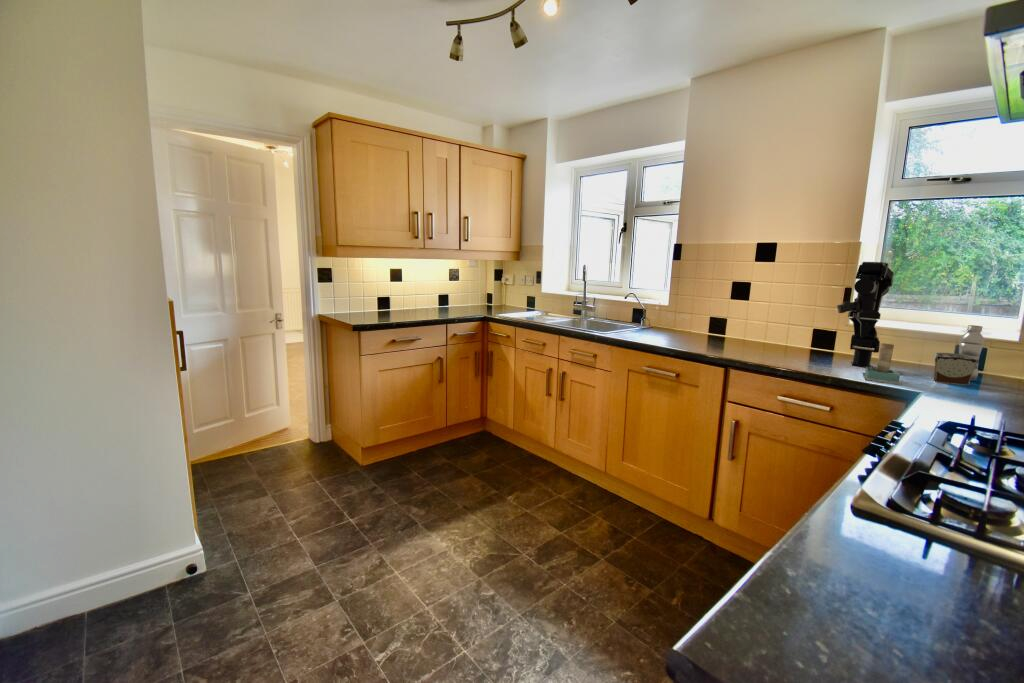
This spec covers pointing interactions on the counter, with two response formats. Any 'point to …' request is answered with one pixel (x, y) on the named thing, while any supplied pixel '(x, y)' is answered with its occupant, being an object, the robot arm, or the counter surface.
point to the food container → (954, 368)
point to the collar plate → (882, 376)
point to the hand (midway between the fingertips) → (859, 337)
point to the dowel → (884, 357)
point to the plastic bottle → (972, 345)
